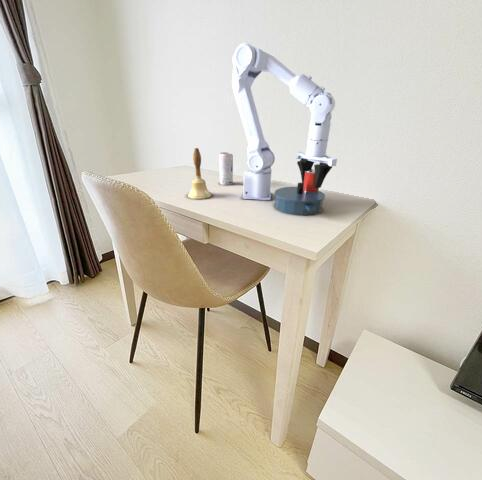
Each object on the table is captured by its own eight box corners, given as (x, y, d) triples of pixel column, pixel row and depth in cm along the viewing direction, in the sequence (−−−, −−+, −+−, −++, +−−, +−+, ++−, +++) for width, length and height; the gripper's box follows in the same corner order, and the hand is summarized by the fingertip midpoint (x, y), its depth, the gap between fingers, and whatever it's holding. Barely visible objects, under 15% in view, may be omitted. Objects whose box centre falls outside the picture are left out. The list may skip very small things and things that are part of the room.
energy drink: (233, 182, 109) (233, 152, 103) (231, 185, 104) (231, 154, 98) (220, 181, 109) (220, 152, 104) (218, 185, 104) (218, 154, 99)
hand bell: (183, 197, 89) (178, 149, 82) (195, 191, 96) (192, 146, 89) (204, 200, 87) (201, 150, 79) (215, 193, 93) (214, 147, 86)
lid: (284, 206, 73) (285, 191, 71) (268, 190, 86) (269, 178, 84) (334, 203, 75) (337, 189, 73) (311, 188, 89) (312, 176, 87)
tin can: (303, 192, 81) (305, 172, 78) (302, 188, 85) (304, 168, 82) (319, 193, 80) (322, 172, 77) (317, 189, 84) (320, 169, 81)
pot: (287, 220, 72) (289, 206, 70) (267, 198, 90) (268, 187, 88) (334, 217, 75) (337, 204, 73) (305, 196, 92) (307, 185, 90)
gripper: (347, 141, 72) (338, 189, 78) (309, 137, 83) (304, 179, 89) (330, 143, 69) (321, 192, 75) (293, 137, 80) (288, 181, 86)
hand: (311, 185), depth 82 cm, fingers closed on tin can, 5 cm apart
